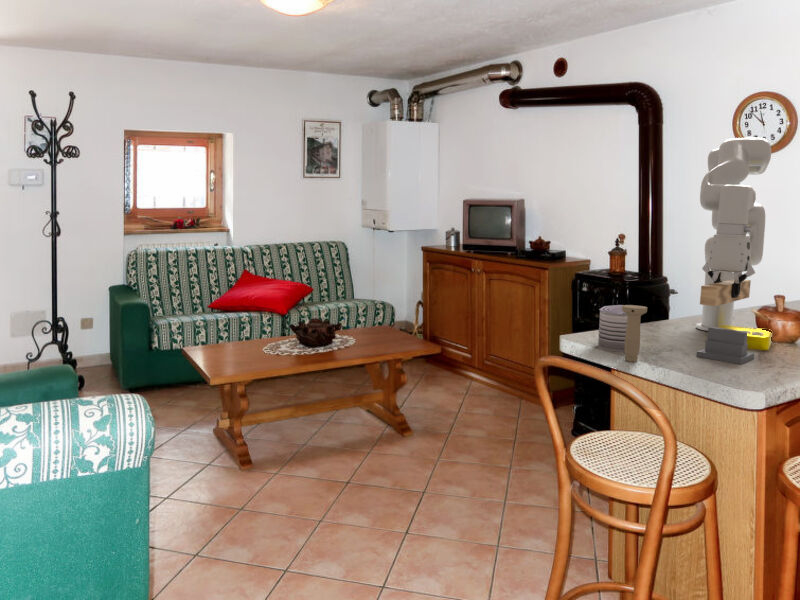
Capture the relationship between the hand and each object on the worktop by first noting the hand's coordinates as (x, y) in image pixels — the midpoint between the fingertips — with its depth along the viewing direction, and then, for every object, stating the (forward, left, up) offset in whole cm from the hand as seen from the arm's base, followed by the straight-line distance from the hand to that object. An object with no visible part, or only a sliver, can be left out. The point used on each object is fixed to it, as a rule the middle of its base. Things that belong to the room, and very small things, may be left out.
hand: (725, 295), depth 199 cm
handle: (+24, -15, -18) cm, 33 cm away
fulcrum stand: (0, +1, -17) cm, 17 cm away
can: (+11, -26, -18) cm, 33 cm away
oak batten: (0, 0, -1) cm, 1 cm away
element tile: (-24, -3, -18) cm, 30 cm away
